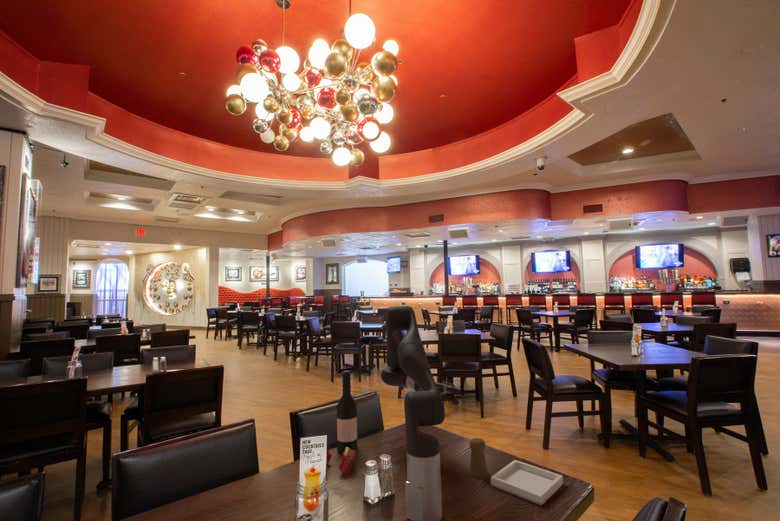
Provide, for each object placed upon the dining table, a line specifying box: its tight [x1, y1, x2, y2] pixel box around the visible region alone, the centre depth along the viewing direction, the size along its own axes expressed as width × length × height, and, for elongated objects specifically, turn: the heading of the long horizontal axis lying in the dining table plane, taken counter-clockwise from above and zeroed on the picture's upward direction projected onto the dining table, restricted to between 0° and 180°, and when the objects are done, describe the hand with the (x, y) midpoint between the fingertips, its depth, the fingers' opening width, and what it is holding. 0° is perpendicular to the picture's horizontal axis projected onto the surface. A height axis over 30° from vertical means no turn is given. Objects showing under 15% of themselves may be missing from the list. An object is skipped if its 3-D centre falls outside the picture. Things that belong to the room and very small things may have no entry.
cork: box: [468, 437, 489, 479], centre depth 124 cm, size 6×6×11 cm
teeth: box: [326, 447, 357, 477], centre depth 129 cm, size 10×8×15 cm
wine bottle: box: [336, 370, 358, 454], centre depth 146 cm, size 8×8×30 cm
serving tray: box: [490, 459, 564, 507], centre depth 116 cm, size 16×16×2 cm
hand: (452, 395), depth 133 cm, fingers open, 8 cm apart
